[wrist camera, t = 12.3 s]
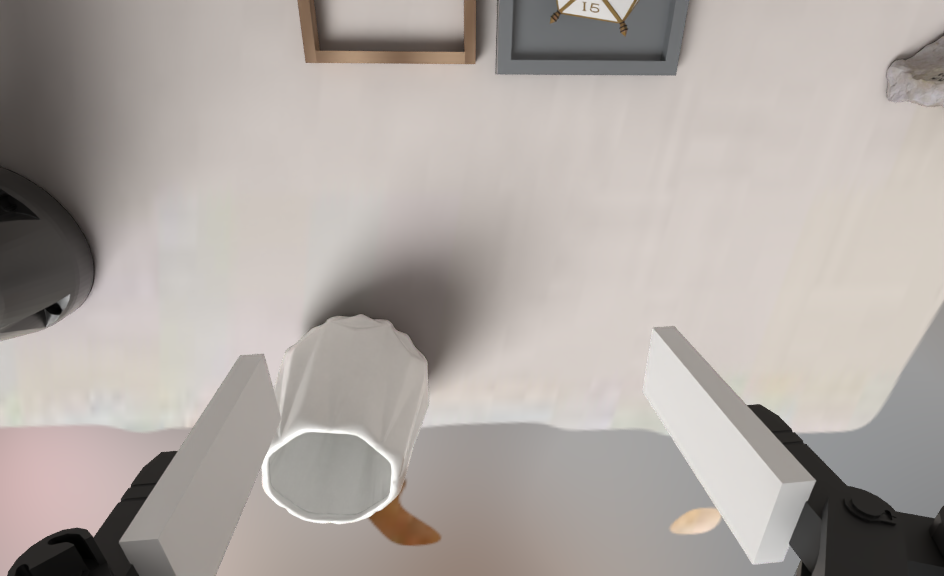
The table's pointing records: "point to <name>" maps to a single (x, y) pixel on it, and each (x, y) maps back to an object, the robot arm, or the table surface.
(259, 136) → the table surface
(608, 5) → the game die
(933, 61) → the stone
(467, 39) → the corral
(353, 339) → the vase
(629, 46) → the tray
